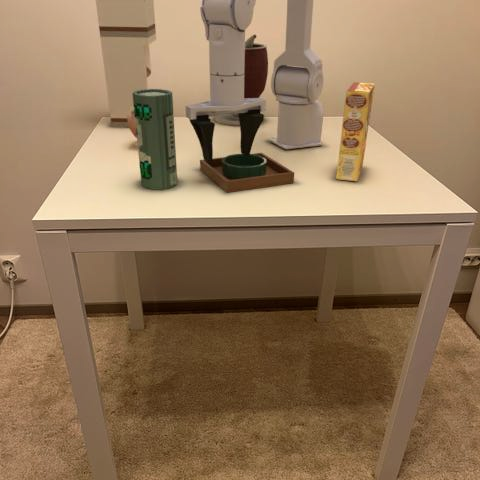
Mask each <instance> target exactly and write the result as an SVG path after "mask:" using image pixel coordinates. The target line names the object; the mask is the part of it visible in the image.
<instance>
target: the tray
mask: <svg viewBox="0 0 480 480" xmlns="http://www.w3.org/2000/svg"><path fill="white" fill-rule="evenodd" d="M252 154H253V155H259V156H262V157H263V158H265V159H266V161H267V166H266V175H265V176H258V177H250V178H243V179H236V180H233V179H230V178H227V177H225V176H224V175H223V172H222V160H223V158H224V157H225V156H221V157H214V158H212V161H211V162H208V161H206V160H205V159H204V158H203V159H200V160H199V170H200V171H201V172H202V173H203V174H204V175H205V176H207V177H208V178H209V179H210V180H211V181H213V182H214V183H215V184H216V185H217V186H219V188H221V189H222V190H223V191H224V192H225V193H233V192H240V191H241V192H242V191H248V190H254V189H260V188H261V189H262V188H269V187H275V186H281V185H288V184H289V185H290V184H295V183H294V182H295V172H294V171H293V170H291V169H289V168H287V167H286V166H284V165H283V164H281V163H280V162H278V161H276V160H274V159H273V158H271V157H270V156H268V155H266V154H265V153H263V152H256V153H252Z"/></svg>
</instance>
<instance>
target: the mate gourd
mask: <svg viewBox="0 0 480 480" xmlns="http://www.w3.org/2000/svg"><path fill="white" fill-rule="evenodd" d="M255 39H257V35H256V34H252V35H251V36H250V37H248V38H247V39H246V40H245V67H244V98H261V96H262V95H263V93H264V91H265V89H266V85H267V81H268V74H269V55H268V49H267V47H268V45H267V44H263V43H256V42H255ZM215 121H216V122H217V123H218V124H222V125H225V126H235V127H236V126H238V127H240V122H239V116H238V113H237V114H228V115H219V116H215Z"/></svg>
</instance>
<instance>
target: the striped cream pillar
mask: <svg viewBox="0 0 480 480" xmlns="http://www.w3.org/2000/svg"><path fill="white" fill-rule="evenodd" d="M95 6H96V13H97V21H98V23H97V24H98V30H99V38H100V44H101V53H102V62H103V69H104V77H105V83H106V84H105V86H106V92H107V101H108V109H109V117H110V125H111V128H129V125H128V121H127V117H128V113H129V111H130V109H131V108H132V107H133V106H134V104H133V94H132V93H133V92H134V91H138V90H144V89H149V86H148V85H149V84H148V78H149V77H150V76H151V75H152V66H151V65H152V64H151V52H150V44H152V43H153V42H154V43H155V41H157V32H156V31H157V29H156V17H155V15H156V14H155V2H154V0H95Z"/></svg>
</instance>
